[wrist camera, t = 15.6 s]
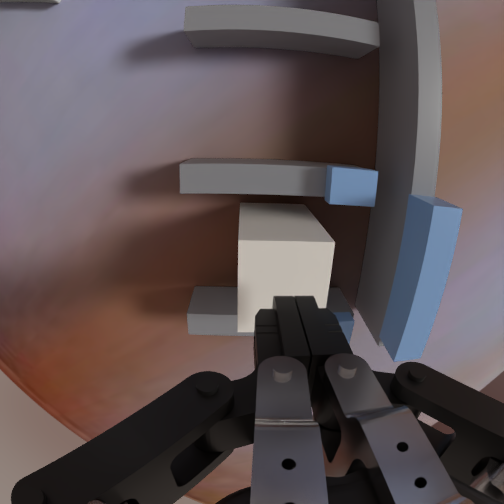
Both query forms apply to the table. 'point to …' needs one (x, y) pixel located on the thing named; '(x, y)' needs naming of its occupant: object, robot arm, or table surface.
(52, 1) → the external hard drive
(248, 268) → the cream white box
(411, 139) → the rack
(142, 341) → the table surface
